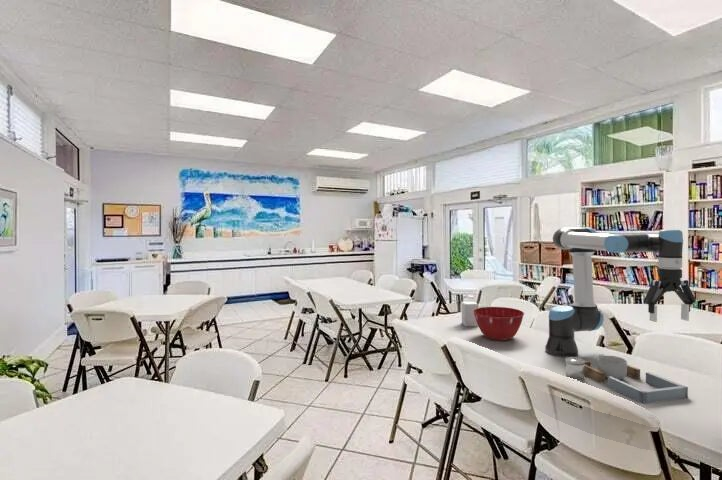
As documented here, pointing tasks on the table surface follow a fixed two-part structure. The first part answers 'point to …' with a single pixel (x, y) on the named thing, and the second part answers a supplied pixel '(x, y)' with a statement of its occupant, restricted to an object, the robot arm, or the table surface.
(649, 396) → the dock
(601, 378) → the wooden u-shaped bracket
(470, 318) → the supplement box
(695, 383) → the table surface
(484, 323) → the mixing bowl
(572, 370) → the sugar tin
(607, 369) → the teacup
